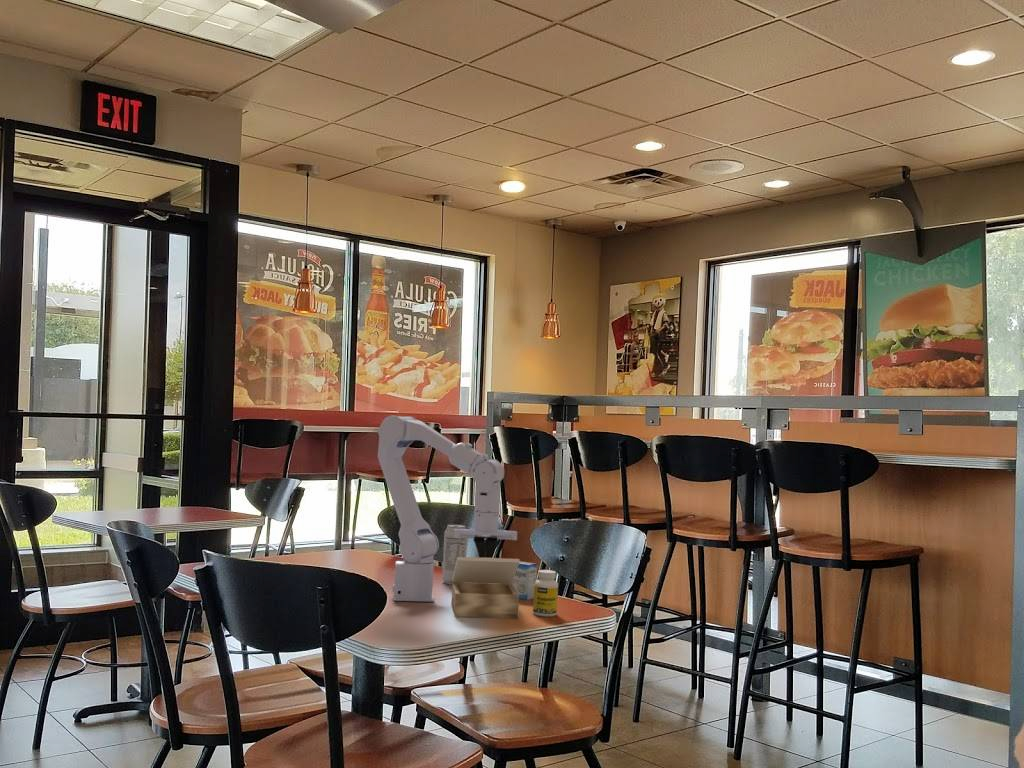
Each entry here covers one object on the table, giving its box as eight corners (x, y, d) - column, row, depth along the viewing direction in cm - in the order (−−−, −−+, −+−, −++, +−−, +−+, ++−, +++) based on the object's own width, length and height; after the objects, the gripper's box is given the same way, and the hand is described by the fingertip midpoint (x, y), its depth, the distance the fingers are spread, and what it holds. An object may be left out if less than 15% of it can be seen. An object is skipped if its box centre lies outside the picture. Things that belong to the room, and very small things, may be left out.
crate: (454, 616, 207) (455, 593, 207) (451, 603, 221) (452, 582, 221) (517, 618, 208) (519, 595, 209) (510, 605, 222) (511, 584, 223)
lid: (457, 560, 209) (457, 556, 210) (452, 582, 221) (452, 578, 221) (519, 562, 211) (519, 558, 211) (511, 584, 223) (511, 580, 223)
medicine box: (499, 596, 233) (501, 561, 234) (507, 593, 237) (509, 559, 238) (527, 600, 230) (529, 564, 230) (535, 598, 234) (537, 562, 234)
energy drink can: (466, 581, 251) (469, 525, 252) (462, 585, 245) (465, 527, 246) (444, 580, 252) (447, 523, 253) (440, 584, 246) (443, 526, 247)
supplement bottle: (533, 616, 211) (535, 572, 212) (532, 611, 217) (534, 568, 217) (557, 617, 212) (559, 573, 212) (555, 612, 217) (557, 569, 217)
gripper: (456, 512, 215) (453, 572, 215) (519, 514, 217) (517, 573, 216) (455, 509, 222) (452, 567, 222) (516, 511, 224) (513, 568, 223)
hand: (484, 570), depth 219 cm, fingers closed
